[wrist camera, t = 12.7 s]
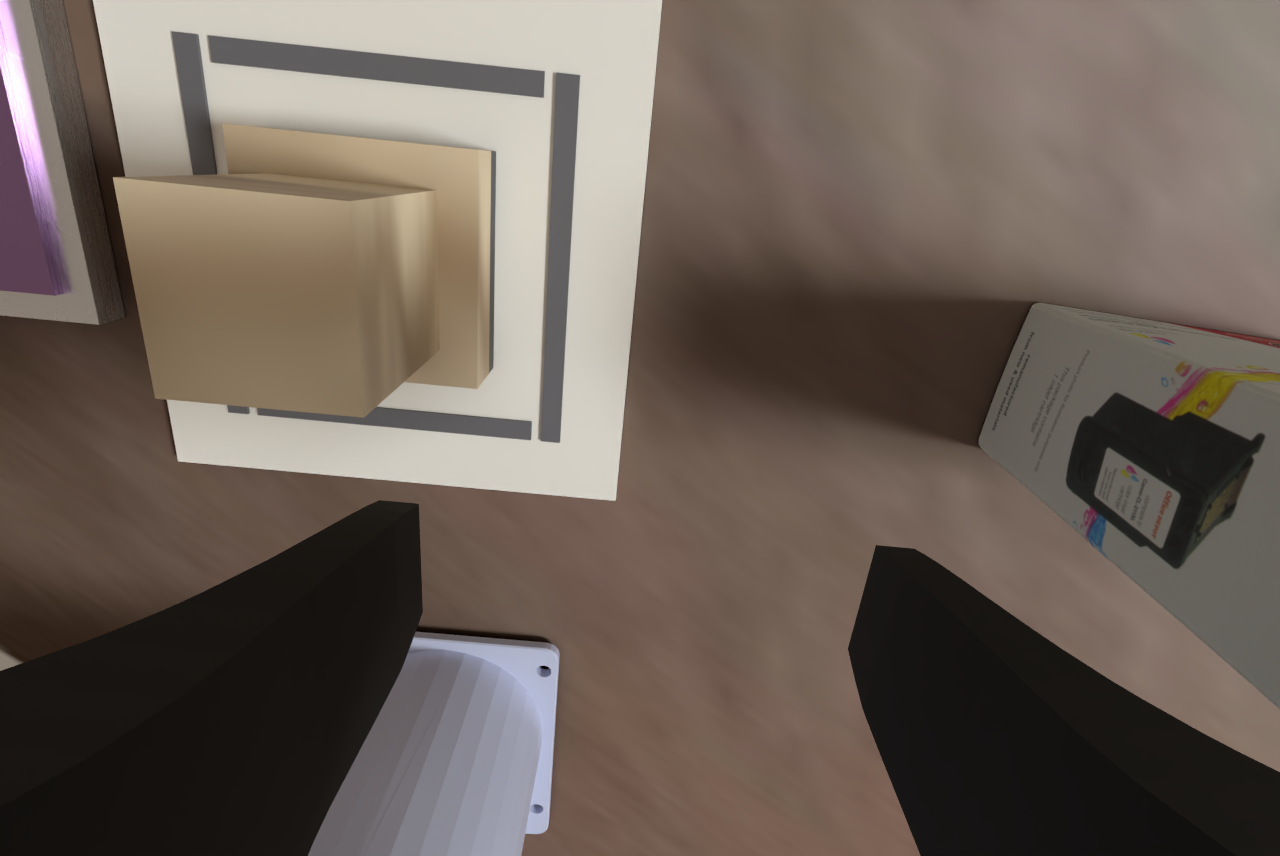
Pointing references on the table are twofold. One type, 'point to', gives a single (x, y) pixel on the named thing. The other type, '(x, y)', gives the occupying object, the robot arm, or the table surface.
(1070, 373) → the ink box
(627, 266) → the paper sheet
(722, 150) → the table surface
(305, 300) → the wooden stamp
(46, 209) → the ink pad
